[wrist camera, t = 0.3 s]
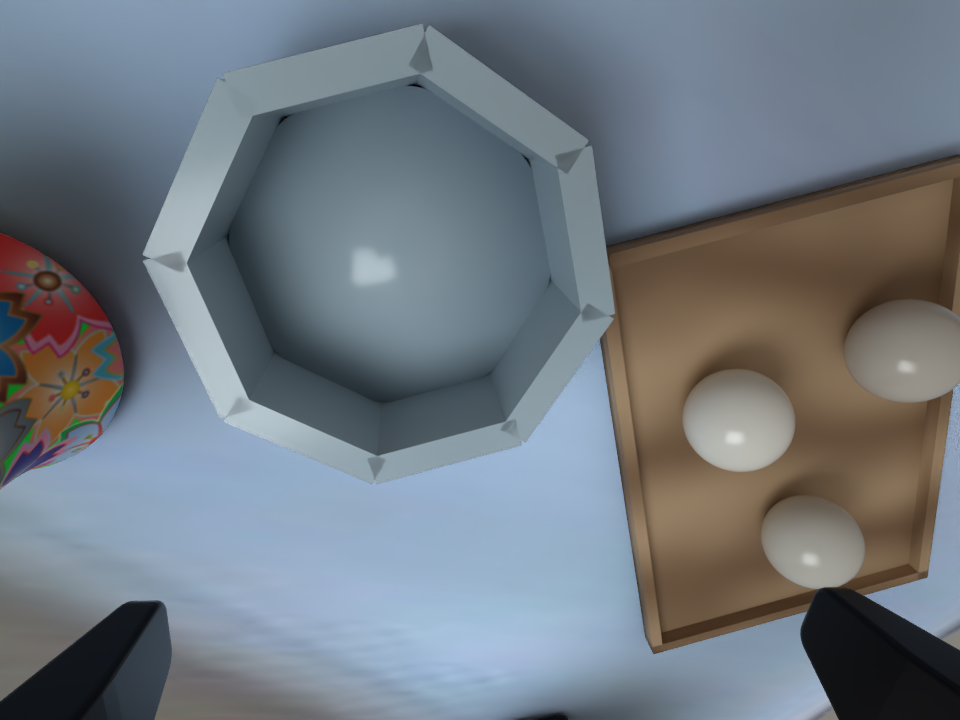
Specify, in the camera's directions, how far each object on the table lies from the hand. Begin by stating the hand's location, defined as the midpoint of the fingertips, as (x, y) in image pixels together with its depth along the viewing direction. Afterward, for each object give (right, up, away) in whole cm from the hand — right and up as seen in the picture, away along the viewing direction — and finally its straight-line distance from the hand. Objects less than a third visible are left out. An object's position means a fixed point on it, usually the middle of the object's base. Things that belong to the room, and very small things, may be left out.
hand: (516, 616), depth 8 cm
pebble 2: (+15, +5, +15) cm, 21 cm away
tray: (+12, 0, +17) cm, 21 cm away
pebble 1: (+13, -3, +18) cm, 22 cm away
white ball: (+9, +2, +15) cm, 17 cm away
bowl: (-3, +7, +12) cm, 14 cm away
